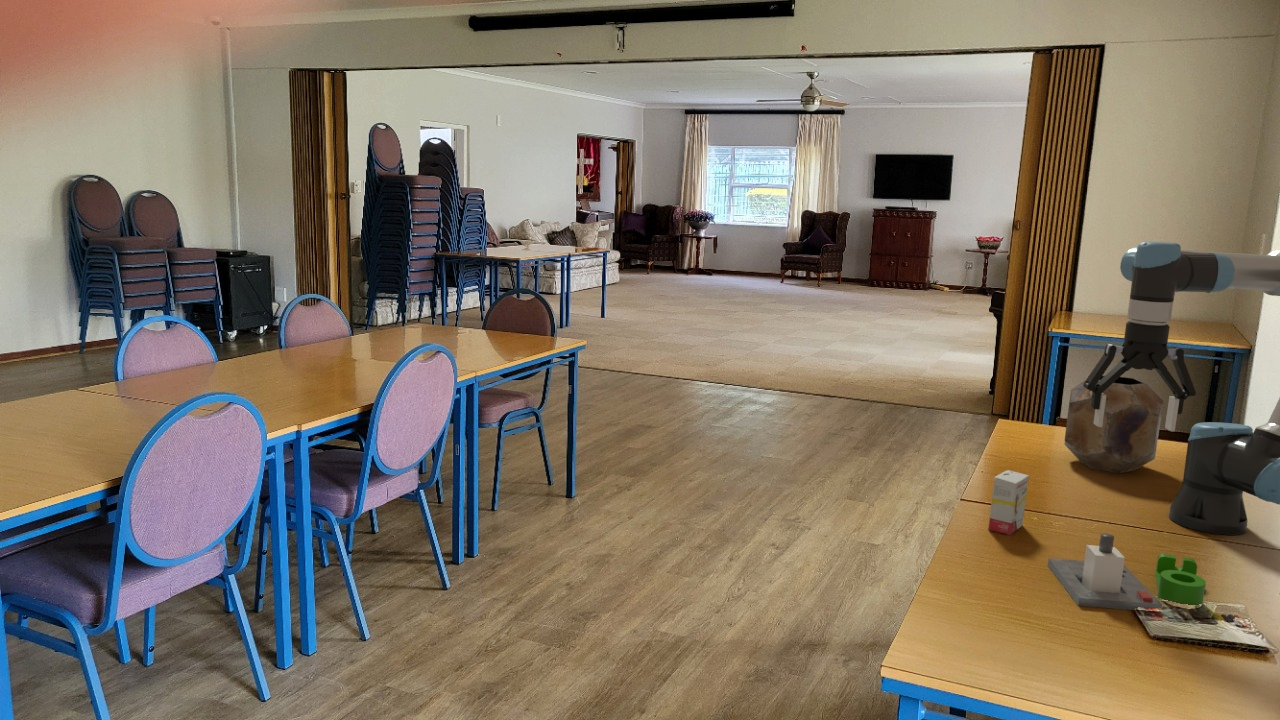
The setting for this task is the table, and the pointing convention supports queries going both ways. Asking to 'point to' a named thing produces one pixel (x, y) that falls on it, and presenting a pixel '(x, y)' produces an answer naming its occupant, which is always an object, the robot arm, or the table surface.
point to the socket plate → (1128, 598)
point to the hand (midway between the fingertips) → (1133, 427)
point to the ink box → (1008, 502)
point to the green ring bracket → (1179, 581)
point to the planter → (1115, 426)
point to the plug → (1103, 566)
